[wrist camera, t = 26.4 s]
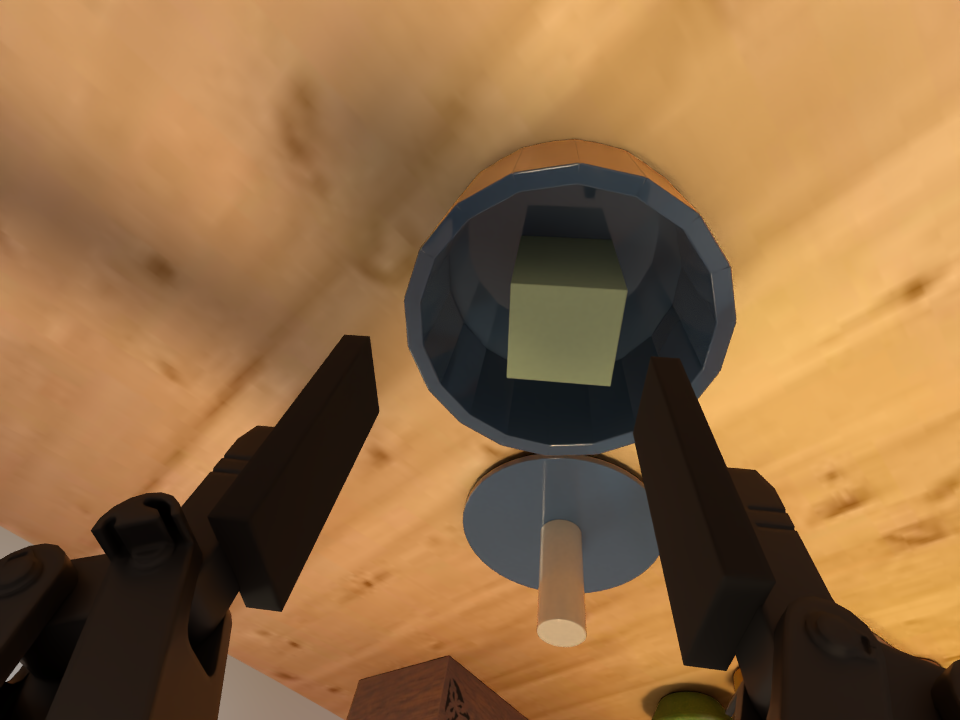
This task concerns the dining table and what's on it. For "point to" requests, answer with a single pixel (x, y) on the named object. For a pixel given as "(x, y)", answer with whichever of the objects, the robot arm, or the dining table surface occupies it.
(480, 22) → the dining table surface
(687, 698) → the tableware set
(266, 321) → the dining table surface
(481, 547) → the bowl lid
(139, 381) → the dining table surface
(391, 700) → the tissue box cover
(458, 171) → the dining table surface
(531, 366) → the block
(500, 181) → the bowl
